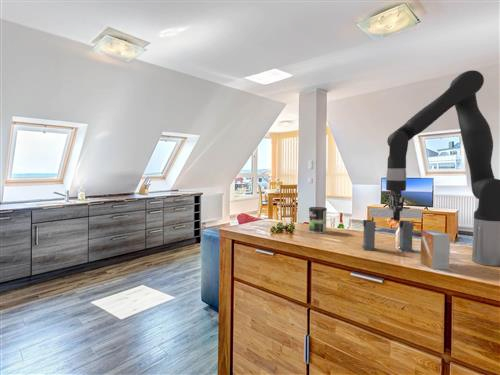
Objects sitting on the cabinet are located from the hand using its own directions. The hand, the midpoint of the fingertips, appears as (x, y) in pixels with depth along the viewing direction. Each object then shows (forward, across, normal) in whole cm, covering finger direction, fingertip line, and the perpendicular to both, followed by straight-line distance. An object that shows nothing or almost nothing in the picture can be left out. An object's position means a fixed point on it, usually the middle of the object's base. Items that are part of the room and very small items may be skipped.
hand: (395, 219), depth 125 cm
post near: (+16, +10, -8) cm, 20 cm away
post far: (+16, +10, +8) cm, 20 cm away
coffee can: (+16, +46, +29) cm, 56 cm away
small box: (+16, -12, -11) cm, 22 cm away
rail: (-1, 0, 0) cm, 1 cm away
